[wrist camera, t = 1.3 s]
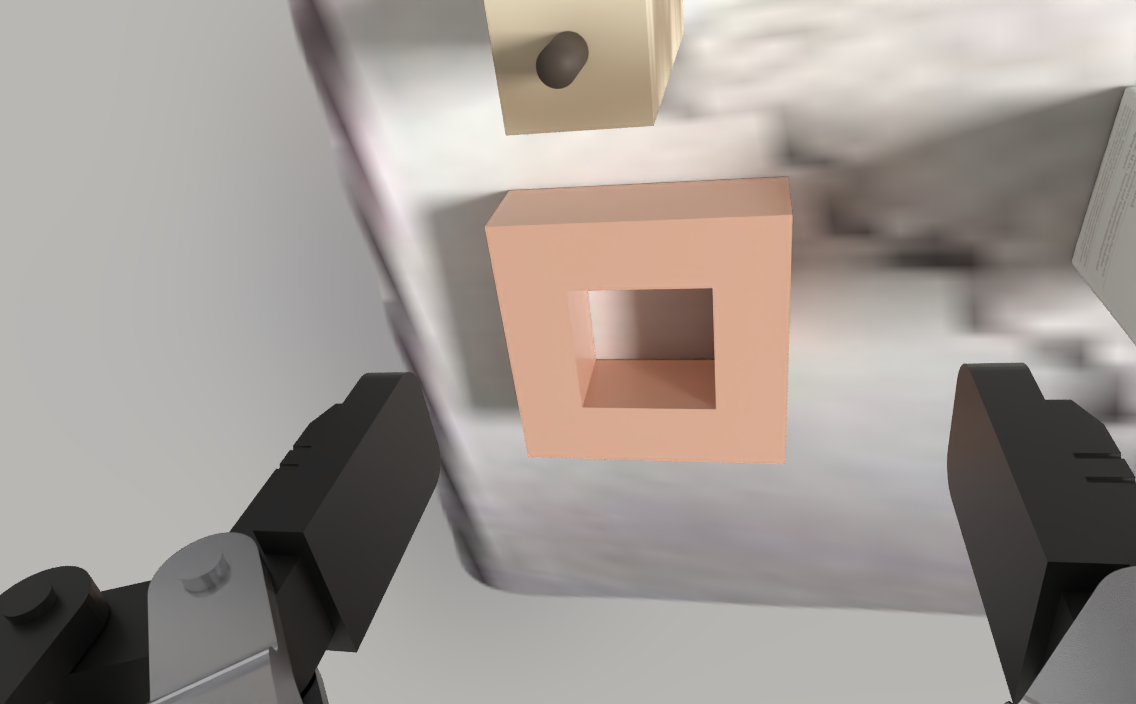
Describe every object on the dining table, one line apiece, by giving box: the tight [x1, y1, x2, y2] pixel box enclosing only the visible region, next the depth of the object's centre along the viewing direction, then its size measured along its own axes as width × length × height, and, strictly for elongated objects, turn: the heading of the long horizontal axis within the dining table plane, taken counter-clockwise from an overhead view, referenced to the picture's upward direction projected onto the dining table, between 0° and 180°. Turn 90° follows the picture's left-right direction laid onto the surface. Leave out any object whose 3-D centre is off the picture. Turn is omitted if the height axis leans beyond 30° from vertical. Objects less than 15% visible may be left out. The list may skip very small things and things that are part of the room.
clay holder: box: [485, 177, 793, 464], centre depth 35 cm, size 12×12×4 cm
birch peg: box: [484, 0, 684, 135], centre depth 24 cm, size 4×4×14 cm
